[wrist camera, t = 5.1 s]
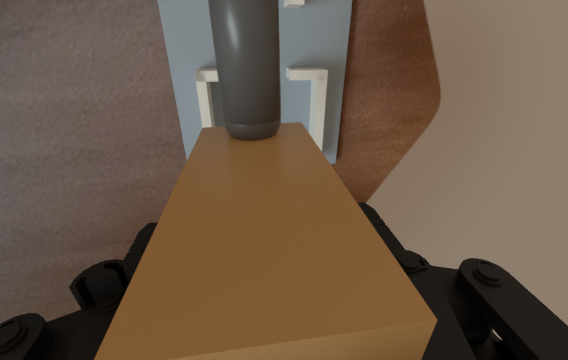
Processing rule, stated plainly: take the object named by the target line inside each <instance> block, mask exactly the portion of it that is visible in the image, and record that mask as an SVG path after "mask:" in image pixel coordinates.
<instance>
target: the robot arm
mask: <svg viewBox="0 0 568 360" xmlns="http://www.w3.org/2000/svg"><path fill="white" fill-rule="evenodd" d="M357 204H358V205H359V207H360V208H361V209H362V211H363V212H364V214H365V215H366V217H367V218H368V220H369V221H370V223H371V224H372V225H373V227H374V228H375V230H376V231H377V233H378V234H379V236H380V237H381V238H382V240H383V241H384V243H385V244H386V246H387V247H388V249H389V250H390V252H391V253H392V254H393V256H394V257H395V259H396V260H397V262H398V263H399V265H400V266H401V267H402V269H403V270H404V272H405V273H406V275H407V276H408V278H409V279H410V281H411V282H412V283H413V285H414V286H415V288H416V289H417V291H418V292H419V294H420V295H421V297H422V298H423V299H424V301H425V302H426V304H427V305H428V307H429V308H430V310H431V311H432V312H433V314H434V315H435V317H436V318H437V322H436V325H435V327H434V330H433V332H432V335H431V337H430V339H429V342H428V344H427V347H426V349H425V352H424V354H423V357H422V359H421V360H568V326H567V325H566V324H565V323H564V322H563V321H562V320H560V319H559V318H558V317H557V316H556V315H555V314H554V313H553V312H552V311H551V310H549V309H548V308H547V307H546V306H545V305H544V304H543V303H542V302H540V301H539V300H538V299H537V298H536V297H535V296H534V295H532V293H530V292H529V291H528V290H527V289H526V288H525V287H524V286H523V285H521V284H520V283H519V282H518V281H517V280H516V279H515V278H514V277H513V276H512V275H510V274H509V273H508V272H507V271H505V270H504V269H503V268H501V267H500V266H498V265H496V264H493V263H491V262H489V261H485V260H482V259H475V258H470V259H466V260H464V261H463V262H462V263H461V265H460V267H459V269H451V268H443V267H436V266H431V265H430V264H429V263H428V262H427V260H426V259H424V258H423V257H422V256H420V255H419V254H416V253H414V252H412V251H409V250H405V249H404V248H403V246H402V245H401V244H400V242H399V241H398V240H397V238H396V237H395V236H394V235H393V233H392V232H391V231H390V229H389V228H388V227H387V226H386V225H385V223H384V222H383V220H382V219H380V216H379V215H378V214H377V212H376V211H375V210H374V209H373V208H372V207H370V206H369V205H367V204H366V203H357ZM157 224H158V222H156V223H149V224H148V225H146V226H145V227H144V228H143V229H142V230H141V231H140V232H139V233H138V235H137V236H136V238H135V240H134V242H133V244H132V246H131V247H130V249H129V253H127V255H126V257H125V258H124V260H117V259H114V260H107V261H103V262H100V263H98V264H95V265H93V266H91V267H89V268H88V269H86V270H84V271H83V272H82V273H81V274H79V275H78V276H77V277H76V278H75V279H74V280H73V282H72V284H71V285H70V287H69V288H70V290H71V292H72V293H73V295H74V297H75V299H76V300H77V302H78V304H79V305H80V307H81V310H78V311H76V312H74V313H71V314H68V315H65V316H63V317H60V318H57V319H54V320H52V321H49V322H46V321H45V320H44V318H43V317H42V316H40V315H39V314H36V313H27V314H23V315H19V316H15V317H13V318H11V319H9V320H7V321H5V322H3V323H1V324H0V360H94V358H95V356H96V354H97V352H98V350H99V348H100V346H101V343H102V341H103V339H104V337H105V335H106V333H107V331H108V329H109V326H110V324H111V322H112V320H113V318H114V316H115V314H116V311H117V309H118V307H119V305H120V303H121V301H122V299H123V297H124V294H125V292H126V290H127V288H128V286H129V284H130V282H131V279H132V277H133V275H134V273H135V271H136V269H137V267H138V264H139V262H140V260H141V258H142V256H143V254H144V252H145V250H146V247H147V245H148V243H149V241H150V239H151V237H152V235H153V232H154V230H155V228H156V226H157ZM493 329H494V330H495V332H496V333H497V334H498V335H499V336H500V337H501V338H502V340H501V339H499V338H498V337H497V336H496V335H495V334H494V333H493V332H492V331H493Z"/></svg>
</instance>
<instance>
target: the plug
mask: <svg viewBox="0 0 568 360" xmlns="http://www.w3.org/2000/svg"><path fill="white" fill-rule="evenodd" d="M208 5H209V13H210V20H211V28H212V36H213V43H214V51H215V59H216V67H217V74H218V82H219V90H220V98H221V105H222V113H223V120H224V124H225V126H223V127H205V128H202V130H201V132H200V134H199V136H198V138H197V141H196V143H195V145H194V147H193V149H192V151H191V153H190V156H189V158H188V160H187V162H186V164H185V166H184V168H183V171H182V173H181V175H180V177H179V179H178V181H177V183H176V185H175V188H174V190H173V192H172V194H171V196H170V198H169V200H168V203H167V205H166V207H165V209H164V211H163V213H162V215H161V217H160V220H159V222H158V224H157V226H156V228H155V230H154V232H153V235H152V237H151V239H150V241H149V243H148V245H147V247H146V250H145V252H144V254H143V256H142V258H141V260H140V262H139V264H138V267H137V269H136V271H135V273H134V275H133V277H132V279H131V282H130V284H129V286H128V288H127V290H126V292H125V294H124V297H123V299H122V301H121V303H120V305H119V307H118V309H117V311H116V314H115V316H114V318H113V320H112V322H111V324H110V326H109V329H108V331H107V333H106V335H105V337H104V339H103V341H102V343H101V346H100V348H99V350H98V352H97V354H96V356H95V358H94V360H421V359H422V357H423V354H424V352H425V349H426V347H427V344H428V342H429V339H430V337H431V335H432V332H433V330H434V327H435V325H436V322H437V318H436V317H435V315H434V314H433V312H432V311H431V310H430V308H429V307H428V305H427V304H426V302H425V301H424V299H423V298H422V297H421V295H420V294H419V292H418V291H417V289H416V288H415V286H414V285H413V283H412V282H411V281H410V279H409V278H408V276H407V275H406V273H405V272H404V270H403V269H402V267H401V266H400V265H399V263H398V262H397V260H396V259H395V257H394V256H393V254H392V253H391V252H390V250H389V249H388V247H387V246H386V244H385V243H384V241H383V240H382V238H381V237H380V236H379V234H378V233H377V231H376V230H375V228H374V227H373V225H372V224H371V223H370V221H369V220H368V218H367V217H366V215H365V214H364V212H363V211H362V209H361V208H360V207H359V205H358V204H357V202H356V201H355V199H354V198H353V196H352V195H351V193H350V192H349V191H348V189H347V188H346V186H345V185H344V183H343V182H342V180H341V179H340V178H339V176H338V175H337V173H336V172H335V170H334V169H333V167H332V166H331V164H330V163H329V162H328V160H327V159H326V157H325V156H324V154H323V153H322V151H321V150H320V149H319V147H318V146H317V144H316V143H315V141H314V140H313V138H312V137H311V135H310V134H309V133H308V131H307V130H306V128H305V127H304V125H303V124H302V122H294V123H281V82H280V39H279V0H208Z"/></svg>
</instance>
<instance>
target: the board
mask: <svg viewBox="0 0 568 360" xmlns="http://www.w3.org/2000/svg"><path fill="white" fill-rule="evenodd" d="M158 5H159V11H160V16H161V22H162V27H163V33H164V38H165V44H166V49H167V55H168V60H169V65H170V71H171V76H172V82H173V87H174V93H175V98H176V104H177V109H178V115H179V120H180V126H181V131H182V137H183V142H184V147H185V153H186V158H187V160H188V158H189V156H190V153H191V151H192V149H193V147H194V145H195V143H196V141H197V138H198V136H199V134H200V132H201V130H202V128H205V127H223V126H225V124H224V120H223V113H222V105H221V98H220V90H219V82H218V74H217V67H216V59H215V51H214V43H213V36H212V28H211V20H210V13H209V5H208V0H158ZM351 9H352V0H279V39H280V82H281V123H294V122H302V124H303V125H304V127H305V128H306V130H307V131H308V133H309V134H310V135H311V137H312V138H313V140H314V141H315V143H316V144H317V146H318V147H319V149H320V150H321V151H322V153H323V154H324V156H325V157H326V159H327V160H328V162H329V163H330V164H336V154H337V144H338V135H339V125H340V115H341V106H342V96H343V86H344V77H345V67H346V58H347V48H348V38H349V29H350V19H351Z"/></svg>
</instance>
